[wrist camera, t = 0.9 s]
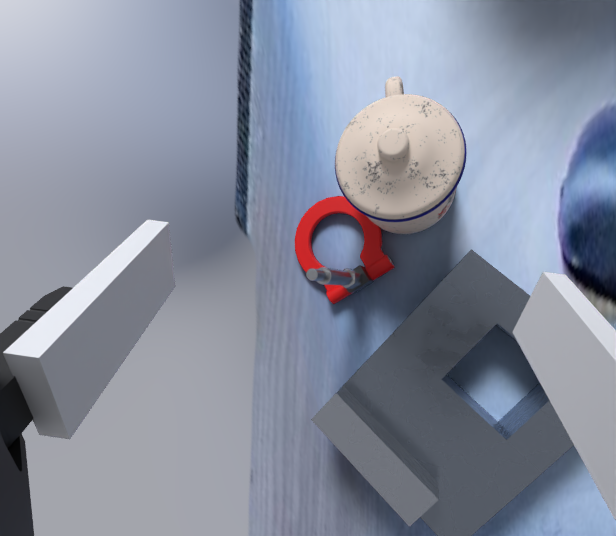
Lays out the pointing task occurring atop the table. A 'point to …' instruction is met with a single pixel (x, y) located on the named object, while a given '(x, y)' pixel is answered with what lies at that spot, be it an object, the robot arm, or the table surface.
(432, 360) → the jig
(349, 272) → the tow hook
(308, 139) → the table surface
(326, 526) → the table surface
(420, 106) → the teacup with lid
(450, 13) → the table surface
